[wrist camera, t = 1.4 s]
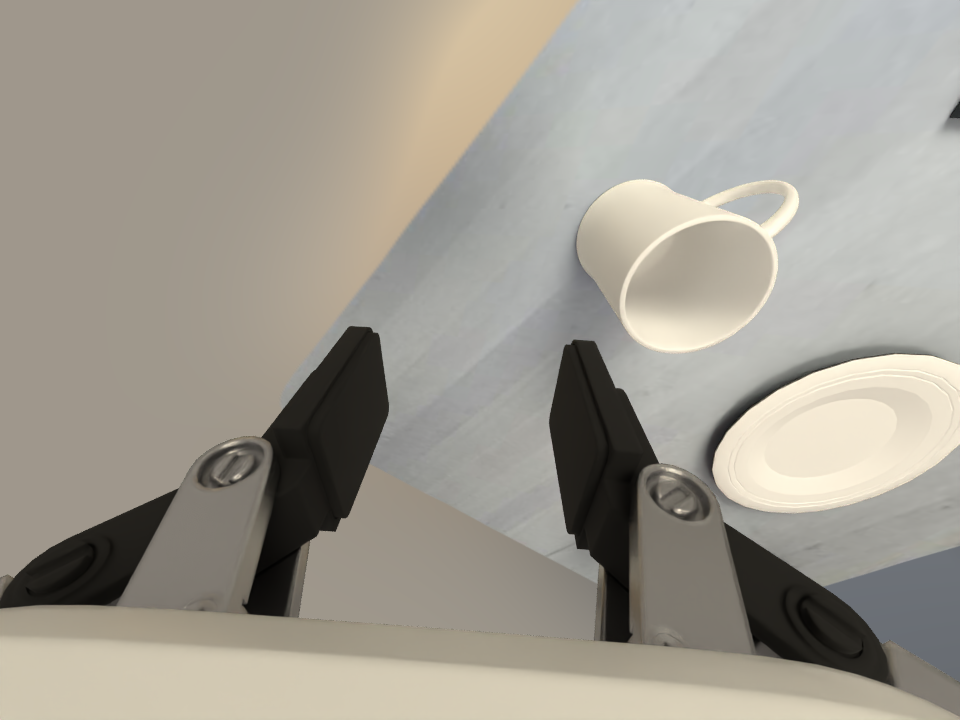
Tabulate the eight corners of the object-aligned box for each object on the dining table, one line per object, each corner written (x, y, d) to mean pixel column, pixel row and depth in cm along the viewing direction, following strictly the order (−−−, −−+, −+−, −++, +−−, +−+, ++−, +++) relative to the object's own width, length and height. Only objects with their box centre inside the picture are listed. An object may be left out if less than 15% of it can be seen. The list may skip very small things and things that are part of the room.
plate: (924, 481, 43) (939, 494, 42) (707, 514, 49) (714, 527, 48) (1004, 311, 31) (1031, 321, 29) (701, 383, 37) (710, 394, 35)
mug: (710, 125, 24) (855, 122, 15) (736, 230, 28) (866, 286, 18) (558, 219, 28) (590, 268, 18) (599, 301, 32) (644, 378, 22)
